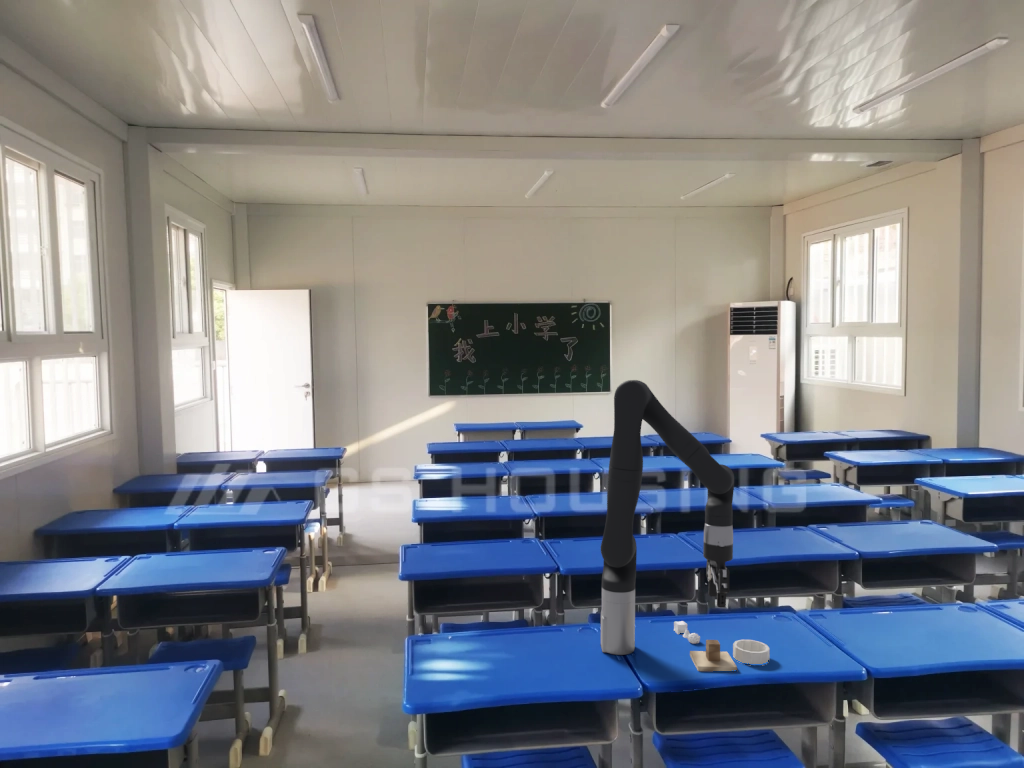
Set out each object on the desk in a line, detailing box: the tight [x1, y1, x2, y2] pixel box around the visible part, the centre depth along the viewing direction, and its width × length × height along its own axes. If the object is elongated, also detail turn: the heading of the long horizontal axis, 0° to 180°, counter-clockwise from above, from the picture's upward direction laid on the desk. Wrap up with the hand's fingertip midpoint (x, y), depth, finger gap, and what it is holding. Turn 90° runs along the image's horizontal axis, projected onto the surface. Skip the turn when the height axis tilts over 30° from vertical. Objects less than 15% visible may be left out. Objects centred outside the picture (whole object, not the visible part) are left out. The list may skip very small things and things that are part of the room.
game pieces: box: [673, 620, 701, 645], centre depth 208 cm, size 12×3×3 cm, turn 11°
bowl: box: [732, 639, 771, 664], centre depth 192 cm, size 9×9×4 cm
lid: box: [689, 639, 738, 672], centre depth 189 cm, size 10×10×6 cm
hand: (716, 601), depth 190 cm, fingers open, 8 cm apart
